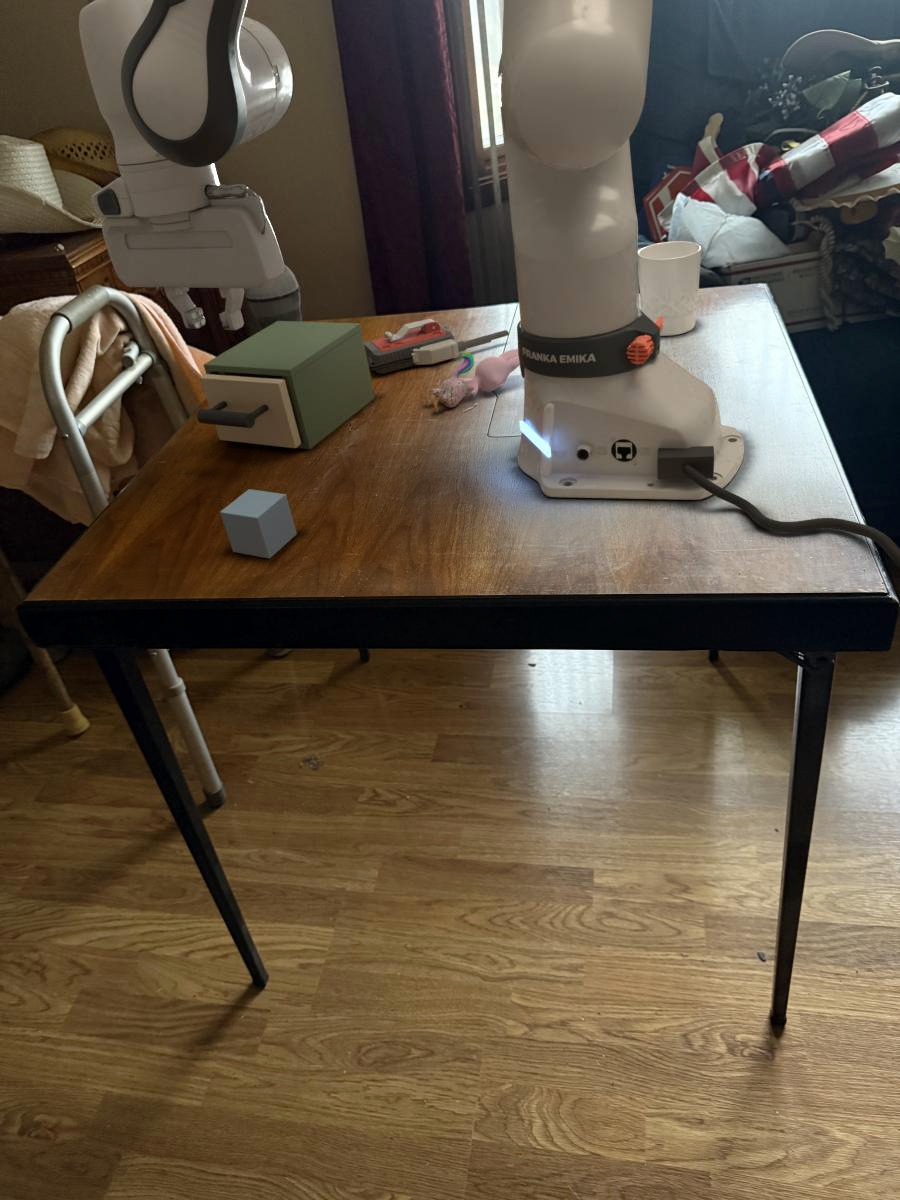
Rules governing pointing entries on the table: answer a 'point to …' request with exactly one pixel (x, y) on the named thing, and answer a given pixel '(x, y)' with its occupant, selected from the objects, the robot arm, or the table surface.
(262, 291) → the beverage cup
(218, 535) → the table surface
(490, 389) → the pink unicorn toy
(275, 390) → the drawer
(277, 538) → the block
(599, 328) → the robot arm
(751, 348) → the table surface
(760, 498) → the table surface
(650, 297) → the white cup
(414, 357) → the toy chainsaw
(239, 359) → the cabinet
